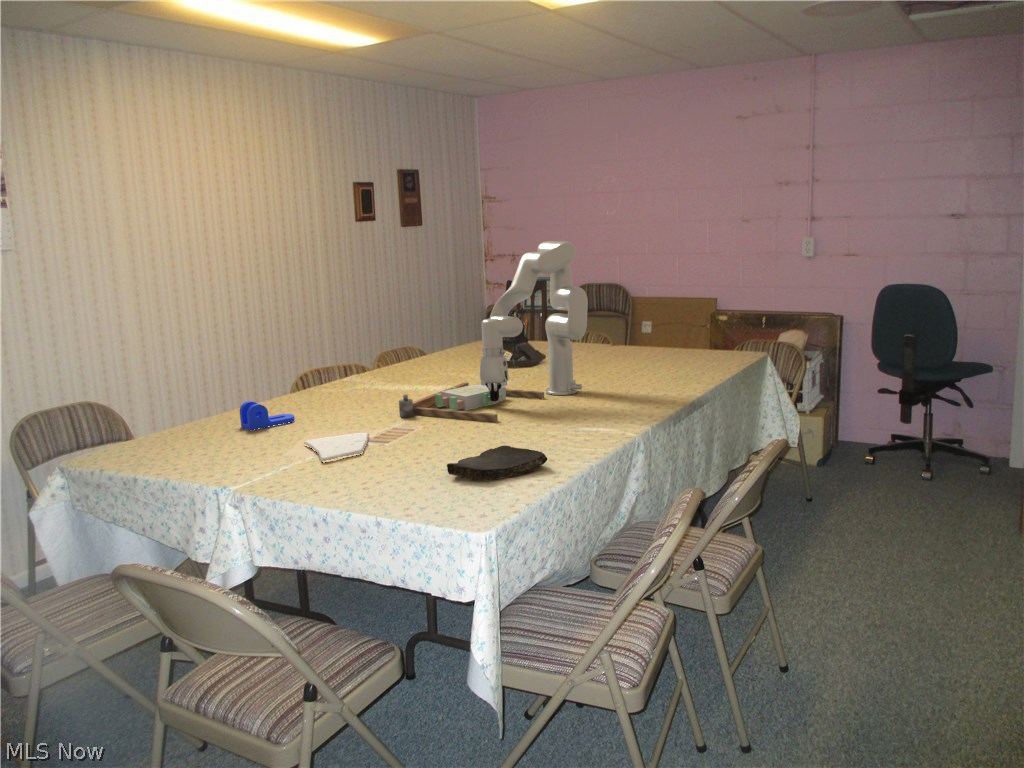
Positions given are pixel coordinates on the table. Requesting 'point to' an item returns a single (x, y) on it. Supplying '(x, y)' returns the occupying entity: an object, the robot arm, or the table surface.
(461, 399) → the decorative block
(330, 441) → the flat white fragment
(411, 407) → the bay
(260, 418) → the bracket
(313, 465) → the table surface
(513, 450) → the stone slab
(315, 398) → the table surface
